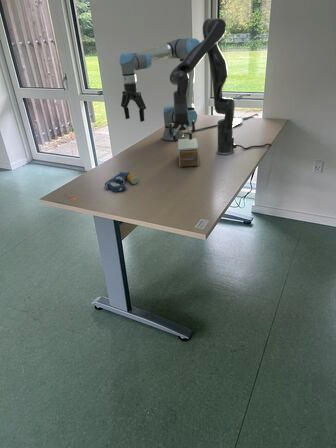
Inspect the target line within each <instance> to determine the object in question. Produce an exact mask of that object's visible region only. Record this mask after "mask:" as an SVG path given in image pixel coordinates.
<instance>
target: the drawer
mask: <svg viewBox="0 0 336 448" xmlns="http://www.w3.org/2000/svg"><path fill="white" fill-rule="evenodd" d="M179 154H180V166H184V167H197V166H196V165H198V154H199V150H198V151H197V150H181V151H179V153H178V155H179Z"/></svg>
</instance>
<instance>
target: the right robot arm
mask: <svg viewBox="0 0 336 448" xmlns="http://www.w3.org/2000/svg"><path fill="white" fill-rule="evenodd" d="M226 32H227V24H226V21H225V20H224V19H223V18H219V17H217V18H215V17H210V18H206V19H205V20H204V22H203V24H202V36H203V38H204V39H203V40H202V41H200V43H199V44H198V45H197V46H195V47H194V48H193V49H192V50H191V51H190V52H189V53H188V55H187V56H186V57H185V59H184V60H183V62H181V63H180V62H179V64H178V65H177V66H175V67H174V69H172V71H171V72H170V75H169V82H170V84H171V85H173V86H177V87H176V90H174V92H173V95H172V96H173V105H174V119H175V122H174V123H169V134H170V135H173V141H172V142H174V143H176V142H177V140H176V136H175V134H176V133H177V132H178V130H179V131H181V130H182V131H186V130H187V132H189V134H188V139H189V140H191V139H192V138H193V133H195V132H196V131H195V130H196V123H195V124H194V121H193V120H192V121H188V105H187V90H188V84H189V77H188V74H187V73H189V72H192V71H193V70H194V69H196V67H197V66H198V65H199V64H200V62H201V61H202V59H203V58H204V57H205V56H206V55H207V58H208V63H209V70H210V71H209V72H210V78H211V83H212V91H213V106H214V111H215V113H217V114H220V115H224V118H222V119H219V120H217V125H218V126H217V148H216V149H217V152H216V153H217V154H219V155H221V156H222V155H223V156H227V155H230V154H232V153H234V149H237V147H240V148H242V149H243V150H249V149H251V148H262V147H266V146H269V147H272V143H265V144H262V145H261V144H260V145H251V146H247V147H244V146H243V145H240V144H236V143H235V138H234V137H233V135H234V134H233V133H234V131H233V129H234V127H233V120H234V118H235V106H236V104H235V100H234V99H233V98H231V97H224V95H223V88H224V85H225V83H226V81H227V79H228V74H229V73H228V72H229V71H228V64H227V61H226V59H225V56H224V55H223V53H222V51H221V50H220V47H219V45H218V44H219V43H218V42H219V41H220V40H221V39H222V38H223V37H224V36H225V34H226ZM189 124H191V125H192V127H191V129H190V127H188V125H189ZM173 126H175V127H176V128H177V129H176V128H175V129H174V131H173V132H172V127H173Z"/></svg>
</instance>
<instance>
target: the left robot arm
mask: <svg viewBox="0 0 336 448" xmlns="http://www.w3.org/2000/svg"><path fill="white" fill-rule="evenodd" d="M199 43H201V41H200V40H199V39H197V38H192V37H189V38H177V39H174V40H170V41H167V42H165V43H163V44H162V45H160V46H156V47H152V48H147V49H145V50H141V51H137V52H134V53H133V52H124V53H121V54H120V55H119V61H118V62H119V65H120V67H121V68H120V69H121V74H122V81H123V88H124V90H123V91H121V92H122V97H121V102H120V107H121V108H122V109H123V112H124V116H125V120H129V119H131V117H130V110H129V104H130V101H132V102H134V103H135V104H136V106H137V108H138V109H139V110H138V114H139V121H140V123H142V122H145V110H146V109H147V106H146V104H145V102H144V99H143V97H142V92H141V91H137V90H138V83H137V75H136V71H140V70H146V69H149V68H151V67H152V65H153V63H155V62H158V61H160V60H165V59H166V60H170V59H171V60H173V59H177V60H178V59H179V64H180V63H181V62H183V60H184V59H185V57H186V56H187V55H188V53H189V52H190V51H191V50H192V49H193V48H194V47H195V46H197V45H198V44H199ZM195 69H196V68H195ZM195 69H194V70H193V71H192V72H189V73H187V74H188V77H189V84H188V90H187V105H188V121H192V120H193V121H194V124H195V125H196V123H197V121H198V113H197V111H196V110H195V105H194V104H193V103H194V87H195V72H196V71H195ZM162 114H163V123H164V130H163V135H162V139H163V140H164V141H167V142H174V141H173V135H170V134H169V123H174V122H175V119H174V104H172V105H166V106H165V107H163V113H162ZM255 116H258V117H259V113H255V114H253V115H250V116H247V117H243V118H241V119H242V121H243V120H247V119H250V118H253V117H255ZM214 127H218V124H214V125H211V126H206V127H202V128H197V129H195V132H198V131H202V130H207V129H210V128H214ZM175 128H176V127H175V126H173V127H172V132H173V131H174V129H175ZM188 128H192V125H191V124H189V125H188ZM176 129H177V128H176ZM184 135H189V131H187V132H185V131H184V132H183V130H181V131H179V130H178V132H177V133H176V134H175V136H176V141H178V139H184V137H185V136H184Z"/></svg>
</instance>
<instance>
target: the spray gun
mask: <svg viewBox="0 0 336 448" xmlns="http://www.w3.org/2000/svg"><path fill="white" fill-rule="evenodd" d="M126 181H128V182H129V183H131V184H132V185H136V184H138V182H139V179H138V177H137V176H136V175H134V174H133V173H130V171H129V170H126V171H119V172H118V173H116V174H115V175H114V176H113V177H111V178H109V180H108V181H106V182H105V183H104V185H103V188H104V189H106V190H111V191H113V192H114V193H116V192H122V191H124V190H125V189H126V187H127V184H126Z"/></svg>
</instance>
